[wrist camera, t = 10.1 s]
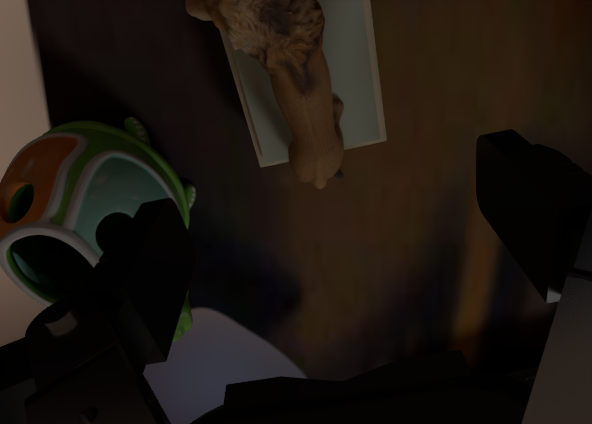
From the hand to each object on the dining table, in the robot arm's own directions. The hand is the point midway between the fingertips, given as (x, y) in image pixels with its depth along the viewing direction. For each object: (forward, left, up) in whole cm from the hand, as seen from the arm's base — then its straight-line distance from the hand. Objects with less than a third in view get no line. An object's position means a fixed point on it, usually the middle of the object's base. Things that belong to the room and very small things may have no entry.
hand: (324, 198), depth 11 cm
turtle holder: (+17, +9, -23) cm, 30 cm away
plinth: (0, 0, -23) cm, 23 cm away
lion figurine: (+1, +1, -17) cm, 17 cm away
